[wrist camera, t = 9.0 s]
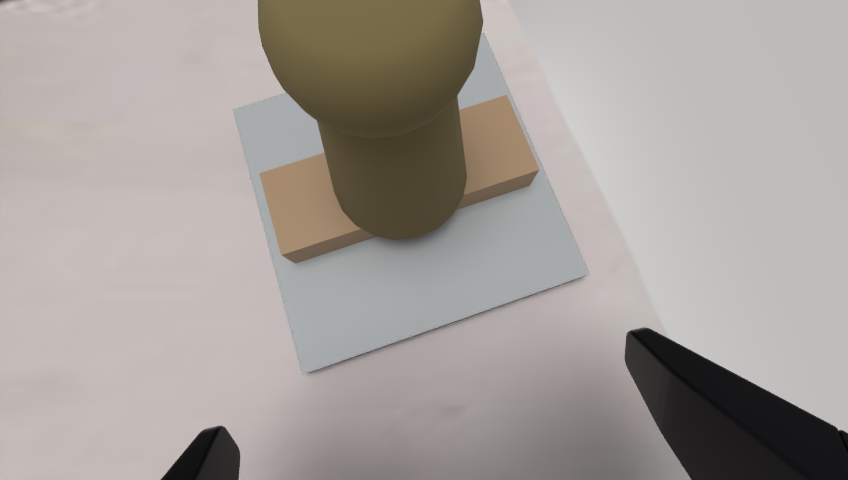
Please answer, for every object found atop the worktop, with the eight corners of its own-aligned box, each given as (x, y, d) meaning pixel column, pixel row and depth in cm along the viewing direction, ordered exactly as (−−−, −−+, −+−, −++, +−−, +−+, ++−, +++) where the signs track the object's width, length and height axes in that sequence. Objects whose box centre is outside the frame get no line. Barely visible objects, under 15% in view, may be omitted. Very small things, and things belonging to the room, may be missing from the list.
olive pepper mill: (493, 192, 19) (575, -3, 8) (378, 266, 18) (306, 158, 8) (418, 91, 20) (405, -191, 10) (308, 158, 20) (160, -67, 9)
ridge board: (582, 277, 21) (606, 266, 18) (308, 372, 20) (287, 378, 17) (481, 45, 24) (488, 4, 21) (240, 119, 23) (213, 87, 20)
